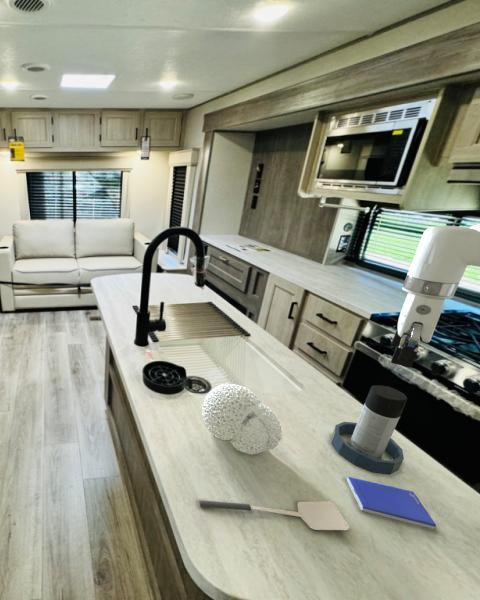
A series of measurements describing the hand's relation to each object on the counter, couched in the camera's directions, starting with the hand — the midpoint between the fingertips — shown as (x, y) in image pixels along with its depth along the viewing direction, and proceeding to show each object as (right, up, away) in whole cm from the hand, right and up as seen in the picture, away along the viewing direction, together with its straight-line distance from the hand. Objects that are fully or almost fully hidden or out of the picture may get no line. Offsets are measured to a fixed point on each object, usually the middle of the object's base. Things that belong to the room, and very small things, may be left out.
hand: (400, 355), depth 72 cm
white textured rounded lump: (-29, -27, +18) cm, 43 cm away
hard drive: (-4, -34, -1) cm, 34 cm away
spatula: (-32, -35, -2) cm, 47 cm away
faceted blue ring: (+2, -28, +12) cm, 31 cm away
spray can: (+2, -29, +12) cm, 31 cm away
